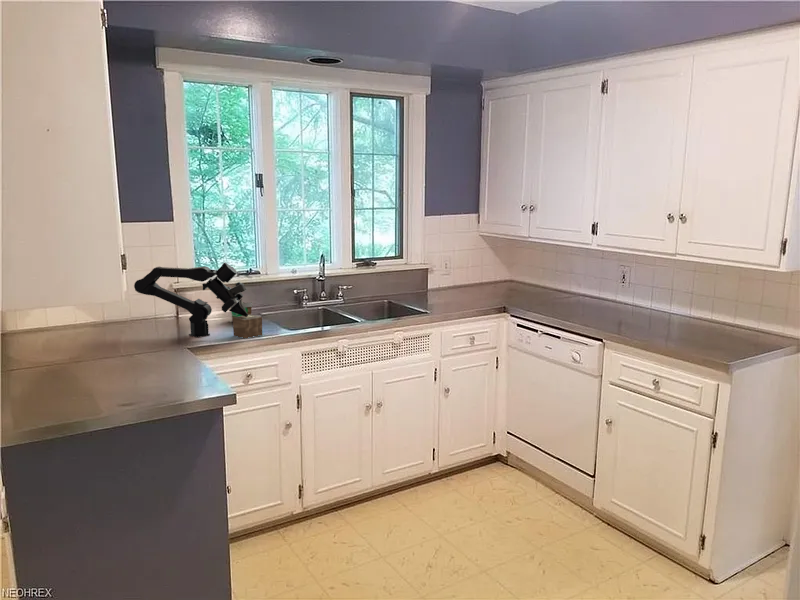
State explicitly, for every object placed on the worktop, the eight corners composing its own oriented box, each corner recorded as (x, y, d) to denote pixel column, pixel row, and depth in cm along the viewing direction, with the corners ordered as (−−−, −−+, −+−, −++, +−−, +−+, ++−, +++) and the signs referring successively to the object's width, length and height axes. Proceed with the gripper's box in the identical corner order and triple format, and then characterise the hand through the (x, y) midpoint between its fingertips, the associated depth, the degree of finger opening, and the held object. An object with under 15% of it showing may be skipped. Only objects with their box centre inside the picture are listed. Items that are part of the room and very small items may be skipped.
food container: (224, 322, 289) (223, 301, 287) (233, 320, 294) (232, 299, 292) (244, 325, 283) (243, 304, 281) (253, 323, 288) (252, 302, 287)
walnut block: (244, 338, 257) (244, 320, 256) (233, 335, 262) (232, 317, 261) (262, 335, 264) (261, 316, 262) (251, 332, 269) (250, 314, 267)
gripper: (228, 279, 249) (256, 306, 252) (238, 274, 268) (264, 299, 270) (209, 298, 250) (237, 325, 253) (220, 291, 268) (246, 316, 271)
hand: (247, 315), depth 261 cm, fingers closed, pressing on peg
